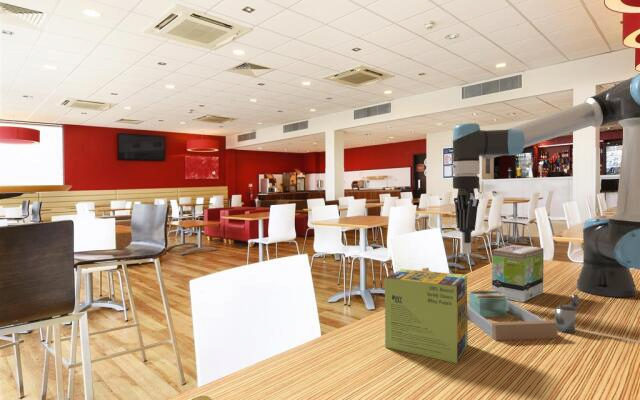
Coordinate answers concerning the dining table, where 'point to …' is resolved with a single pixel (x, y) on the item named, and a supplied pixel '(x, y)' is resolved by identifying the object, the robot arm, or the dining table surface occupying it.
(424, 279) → the protein box
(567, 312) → the winch drum
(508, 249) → the tea box
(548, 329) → the bay
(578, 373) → the dining table surface
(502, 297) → the crate
